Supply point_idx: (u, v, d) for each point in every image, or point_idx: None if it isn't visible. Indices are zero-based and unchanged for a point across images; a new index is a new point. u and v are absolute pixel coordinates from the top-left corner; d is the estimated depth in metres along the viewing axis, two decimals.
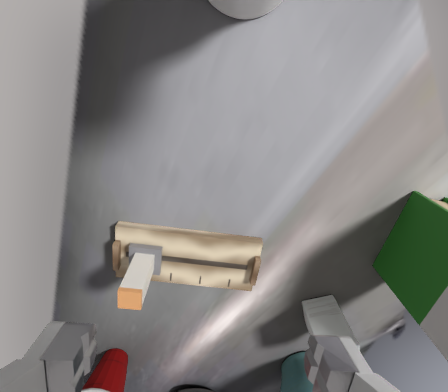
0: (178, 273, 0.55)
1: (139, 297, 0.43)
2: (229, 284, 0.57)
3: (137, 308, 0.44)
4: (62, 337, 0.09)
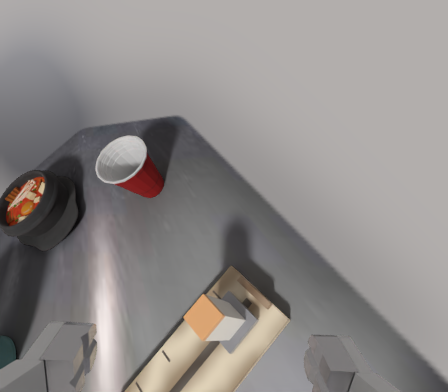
0: (190, 337, 0.43)
1: (198, 332, 0.31)
2: (137, 387, 0.42)
3: (187, 315, 0.33)
4: (62, 337, 0.09)
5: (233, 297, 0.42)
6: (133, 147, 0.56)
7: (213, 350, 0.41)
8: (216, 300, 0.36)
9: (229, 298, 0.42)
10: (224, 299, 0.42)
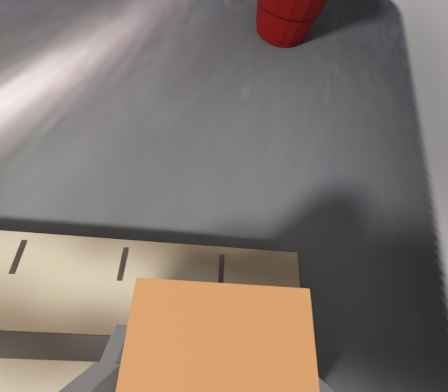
0: (93, 280, 0.16)
1: None
2: None
3: (159, 294, 0.05)
4: None
5: None
6: None
7: None
8: None
9: None
10: None
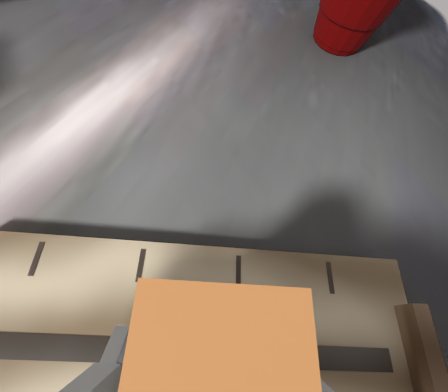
0: None
1: None
2: (35, 251, 0.16)
3: (161, 295, 0.05)
4: None
5: None
6: None
7: None
8: None
9: None
10: None
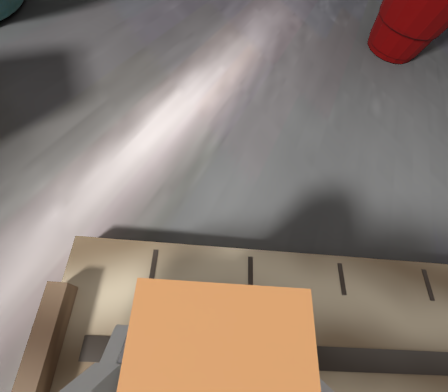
0: (322, 295, 0.17)
1: None
2: (151, 259, 0.17)
3: (160, 295, 0.05)
4: None
5: None
6: None
7: (357, 371, 0.15)
8: None
9: None
10: None
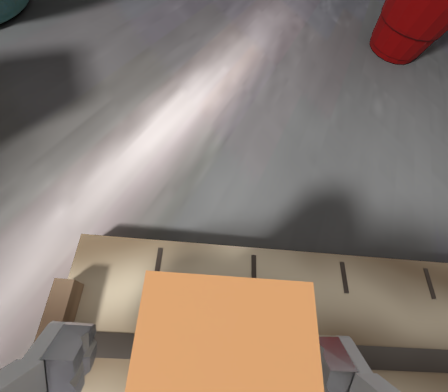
0: (324, 293, 0.17)
1: None
2: (156, 257, 0.17)
3: (168, 287, 0.06)
4: (62, 337, 0.09)
5: None
6: None
7: None
8: None
9: None
10: None
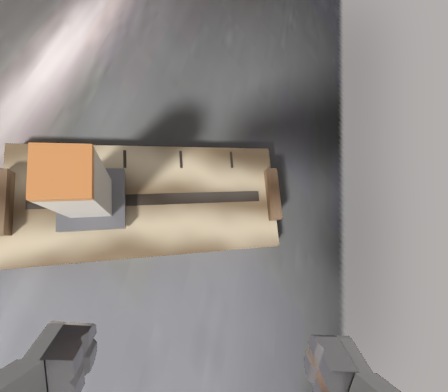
0: (168, 168, 0.30)
1: (31, 184, 0.17)
2: None
3: (37, 147, 0.17)
4: (62, 337, 0.09)
5: (122, 180, 0.27)
6: None
7: (184, 203, 0.30)
8: (100, 167, 0.21)
9: (116, 177, 0.27)
10: (109, 172, 0.27)
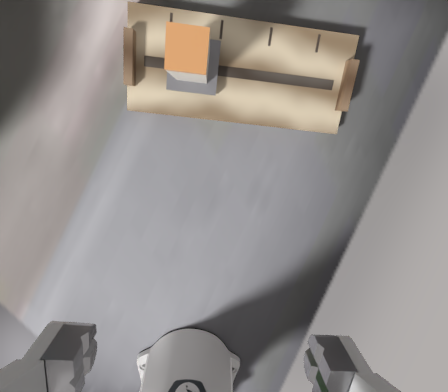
0: (257, 44, 0.34)
1: (167, 57, 0.23)
2: (169, 18, 0.32)
3: (172, 26, 0.23)
4: (62, 337, 0.09)
5: (218, 52, 0.32)
6: None
7: (264, 81, 0.35)
8: None
9: (214, 48, 0.32)
10: None
